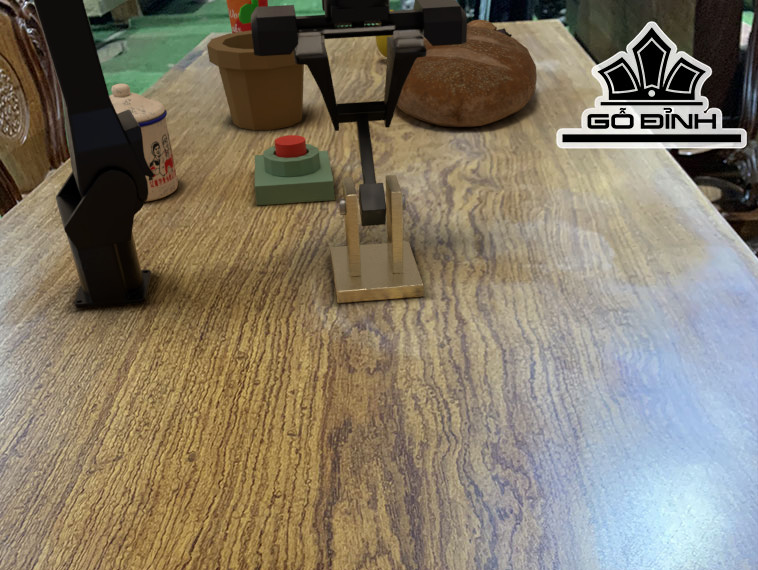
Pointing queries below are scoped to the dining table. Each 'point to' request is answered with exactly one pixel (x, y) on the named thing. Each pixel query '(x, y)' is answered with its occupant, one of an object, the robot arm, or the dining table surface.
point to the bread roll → (486, 26)
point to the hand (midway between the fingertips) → (362, 127)
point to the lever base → (374, 253)
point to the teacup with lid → (150, 138)
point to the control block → (293, 177)
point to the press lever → (367, 159)
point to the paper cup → (234, 4)
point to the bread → (470, 80)
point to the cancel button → (290, 146)
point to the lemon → (382, 43)
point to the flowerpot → (257, 80)
